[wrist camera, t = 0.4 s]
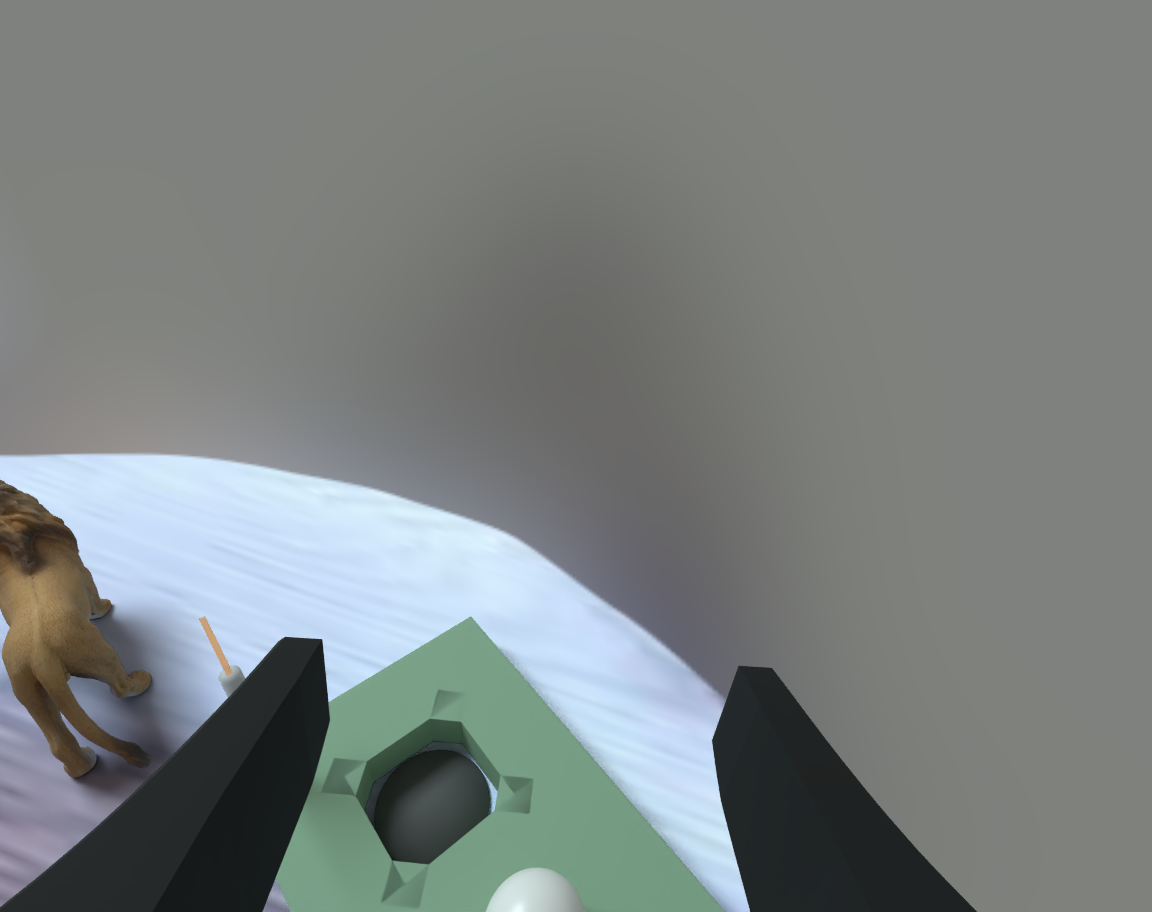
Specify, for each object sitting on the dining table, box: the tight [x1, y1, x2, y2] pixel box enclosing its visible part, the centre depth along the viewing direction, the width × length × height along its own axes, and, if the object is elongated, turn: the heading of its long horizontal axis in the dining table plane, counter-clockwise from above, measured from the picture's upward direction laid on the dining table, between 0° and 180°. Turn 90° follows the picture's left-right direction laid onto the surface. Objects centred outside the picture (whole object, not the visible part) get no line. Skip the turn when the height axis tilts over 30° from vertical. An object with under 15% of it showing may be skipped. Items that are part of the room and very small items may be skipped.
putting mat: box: [199, 617, 725, 912], centre depth 23 cm, size 22×12×9 cm, turn 41°
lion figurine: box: [0, 480, 152, 778], centre depth 28 cm, size 15×5×9 cm, turn 51°
